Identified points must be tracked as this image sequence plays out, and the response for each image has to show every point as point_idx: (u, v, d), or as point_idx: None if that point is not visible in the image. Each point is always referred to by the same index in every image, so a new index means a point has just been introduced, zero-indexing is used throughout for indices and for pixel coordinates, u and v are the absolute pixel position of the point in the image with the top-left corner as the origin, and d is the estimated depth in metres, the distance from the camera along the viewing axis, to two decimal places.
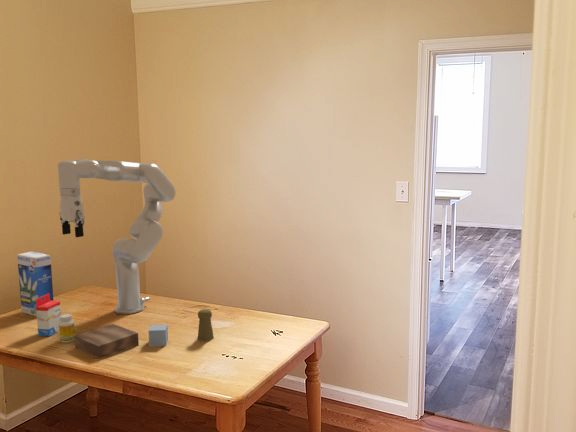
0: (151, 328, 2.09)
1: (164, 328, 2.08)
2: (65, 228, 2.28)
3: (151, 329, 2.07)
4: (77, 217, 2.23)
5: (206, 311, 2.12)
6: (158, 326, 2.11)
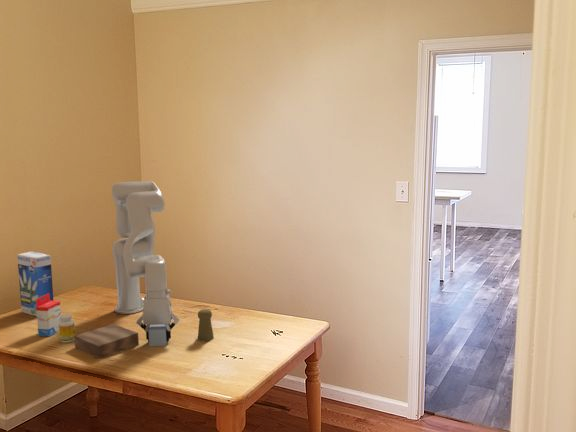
0: (151, 328, 2.09)
1: (164, 328, 2.08)
2: None
3: (151, 329, 2.07)
4: None
5: (206, 311, 2.12)
6: (158, 326, 2.11)
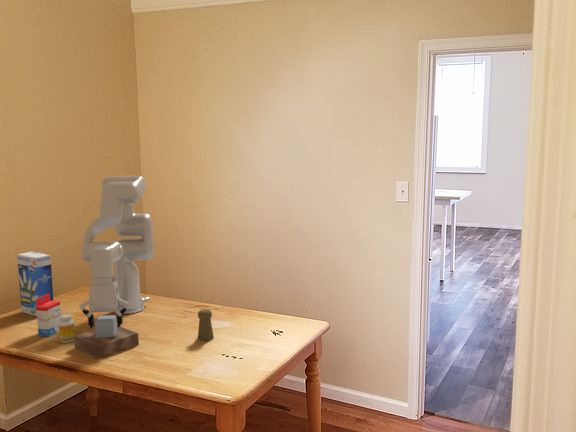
0: (98, 319, 2.05)
1: (111, 319, 2.05)
2: (92, 320, 2.05)
3: (98, 320, 2.04)
4: None
5: (206, 311, 2.12)
6: (106, 317, 2.07)
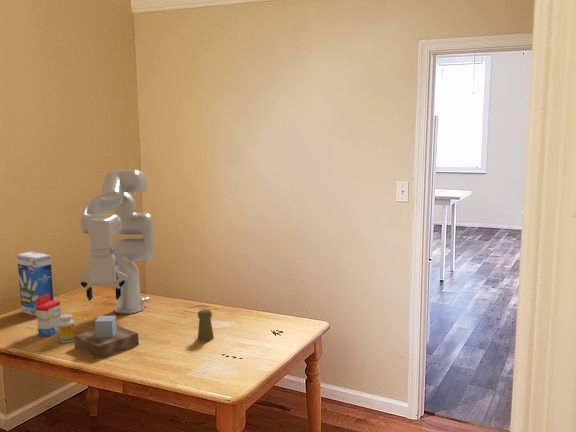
0: (98, 319, 2.05)
1: (111, 319, 2.05)
2: (90, 293, 2.04)
3: (98, 320, 2.04)
4: None
5: (206, 311, 2.12)
6: (106, 317, 2.07)
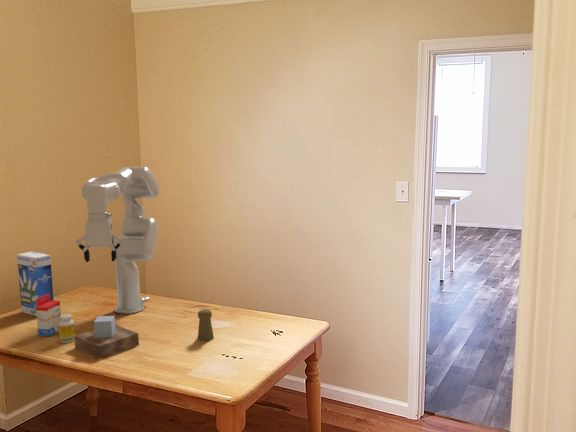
0: (97, 319, 2.05)
1: (110, 319, 2.05)
2: (88, 255, 2.17)
3: (97, 320, 2.04)
4: None
5: (206, 311, 2.12)
6: (104, 317, 2.07)
